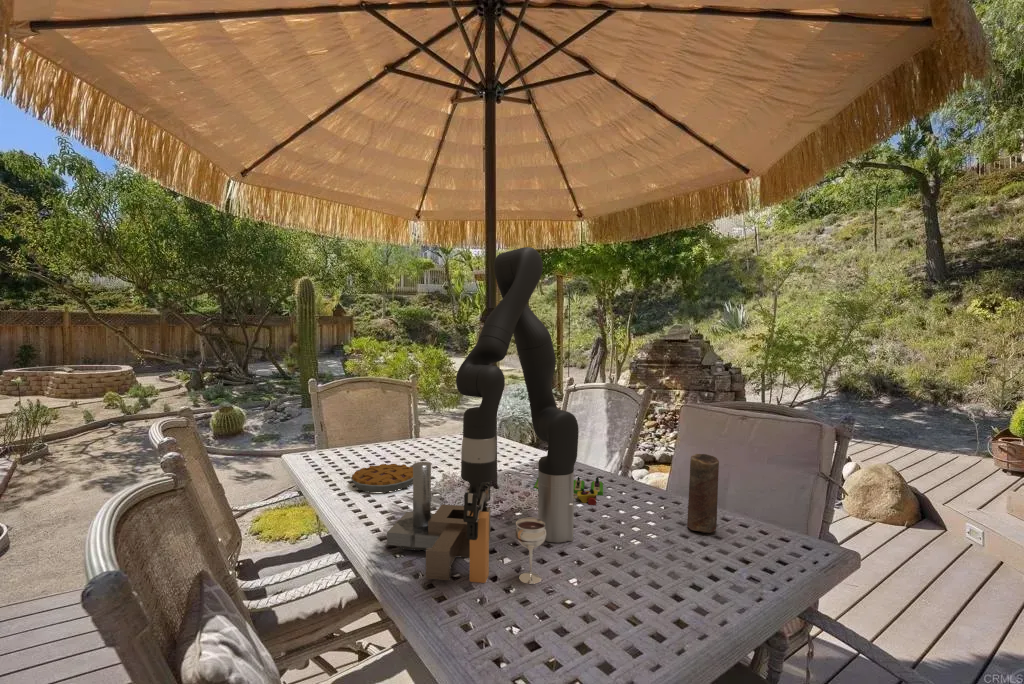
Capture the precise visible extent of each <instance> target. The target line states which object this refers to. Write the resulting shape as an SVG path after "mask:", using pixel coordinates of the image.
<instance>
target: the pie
mask: <svg viewBox="0 0 1024 684" xmlns="http://www.w3.org/2000/svg"><path fill="white" fill-rule="evenodd" d="M350 479H351V482H352V483H354V486H355V488H356V489H357V488H358V490H359V489H360V490H359V491H361V490H363V491H362V492H364V491H369V492H368V493H370V492H389V491H395V490H398V489H401V488H405V487H406V488H408V487H410V486H412V485H413V466H407V465H406V464H398V463H391V464H386V463H382V464H380V465H370V466H369V467H362V468H360V469H359V470H356V471H355V472H354V473H353V474H351V476H350ZM409 485H410V486H409ZM407 486H408V487H407ZM406 488H405V489H406ZM398 491H399V490H398ZM395 492H396V491H395ZM389 493H390V492H389Z"/></svg>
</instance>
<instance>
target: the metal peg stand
mask: <svg viewBox="0 0 1024 684" xmlns="http://www.w3.org/2000/svg"><path fill="white" fill-rule="evenodd" d="M412 467H413V483H412V511H406V512H405V513H404V514H403V515H402V516H401V517H400V519H398V520H395V522H394V525H393V526H391V528H390V529H389V530H388V531H387V532H386V545H388V546H398V547H400V549H401V548H402V549H401V550H408V549H413V550H412V551H420V550H426V549H427V548H432V547H433V545H434V544H435V542H436V541H437V539H438V538H439V537H440V535H438V534H428V521H429V520H430V519H431V517H432V516H433V515H434V514H435V513H432V511H431V510H432V487H431V485H432V481H431V480H432V463H431V462H427V461H418V462H415V463H413V464H412ZM403 548H404V549H403ZM414 549H415V550H414Z"/></svg>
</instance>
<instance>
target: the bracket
mask: <svg viewBox="0 0 1024 684" xmlns="http://www.w3.org/2000/svg"><path fill="white" fill-rule="evenodd" d="M486 507H487V512H489V541H490V540H491V511H492V510H491V507H488V506H486ZM472 513H473V511H471V512H470V516H471V514H472ZM433 514H434V515H433V516H432V517H431V519H430V520H429V521H428V534H438V535H440V537H439V538H438V539H437V541H436V542H435V544H434V545H433V547H432V548H427V549H426V551H425V579H430V580H440V581H450V579H451V566H452V564H453V562H454V561H455V559H456V558H457V557H456V556H461V557H460V558H469V559H470V540H469V539H467V522H464V520H463V518H464V505H459V504H457V505H455V504H454V505H453V504H441V505H440V506H439V508H437V510H436V511H435V512H434V513H433Z"/></svg>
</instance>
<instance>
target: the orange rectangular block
mask: <svg viewBox="0 0 1024 684" xmlns="http://www.w3.org/2000/svg"><path fill="white" fill-rule="evenodd" d="M471 516H473V513H472V514H471ZM489 575H490V540H489V512H480V513H479V521H478V538H477V540H470V558H469V582H471V583H479V584H480V583H481V584H486V583H487V581H488V580H487V579H489Z"/></svg>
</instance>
